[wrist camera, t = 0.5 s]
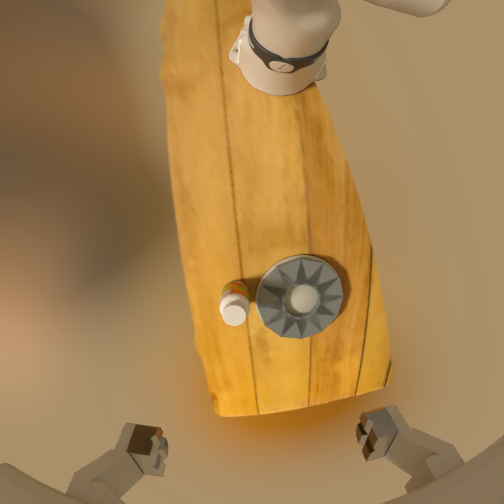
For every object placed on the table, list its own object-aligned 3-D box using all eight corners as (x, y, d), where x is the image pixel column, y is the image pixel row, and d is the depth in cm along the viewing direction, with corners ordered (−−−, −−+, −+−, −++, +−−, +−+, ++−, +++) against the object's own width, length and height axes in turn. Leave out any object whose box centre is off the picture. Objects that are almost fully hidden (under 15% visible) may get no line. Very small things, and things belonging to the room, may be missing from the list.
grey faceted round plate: (264, 247, 51) (266, 250, 49) (350, 262, 53) (355, 265, 51) (248, 329, 56) (248, 335, 54) (327, 337, 57) (330, 342, 55)
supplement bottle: (254, 293, 54) (257, 316, 44) (235, 309, 55) (234, 335, 45) (235, 274, 53) (234, 295, 43) (216, 292, 53) (211, 315, 44)
